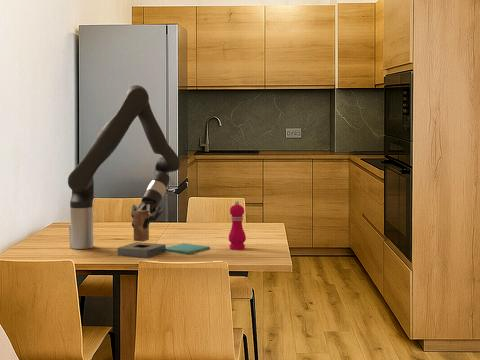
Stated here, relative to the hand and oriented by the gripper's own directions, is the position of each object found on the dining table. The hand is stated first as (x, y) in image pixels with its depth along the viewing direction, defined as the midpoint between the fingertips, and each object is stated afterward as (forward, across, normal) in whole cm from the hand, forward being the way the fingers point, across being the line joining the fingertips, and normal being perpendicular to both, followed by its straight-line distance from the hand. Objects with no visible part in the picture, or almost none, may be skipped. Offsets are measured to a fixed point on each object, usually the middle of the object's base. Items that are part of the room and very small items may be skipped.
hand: (138, 227), depth 308 cm
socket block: (+6, 0, +9) cm, 11 cm away
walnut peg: (+3, 0, +5) cm, 6 cm away
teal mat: (-4, +13, +19) cm, 23 cm away
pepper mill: (-11, +31, +27) cm, 42 cm away
